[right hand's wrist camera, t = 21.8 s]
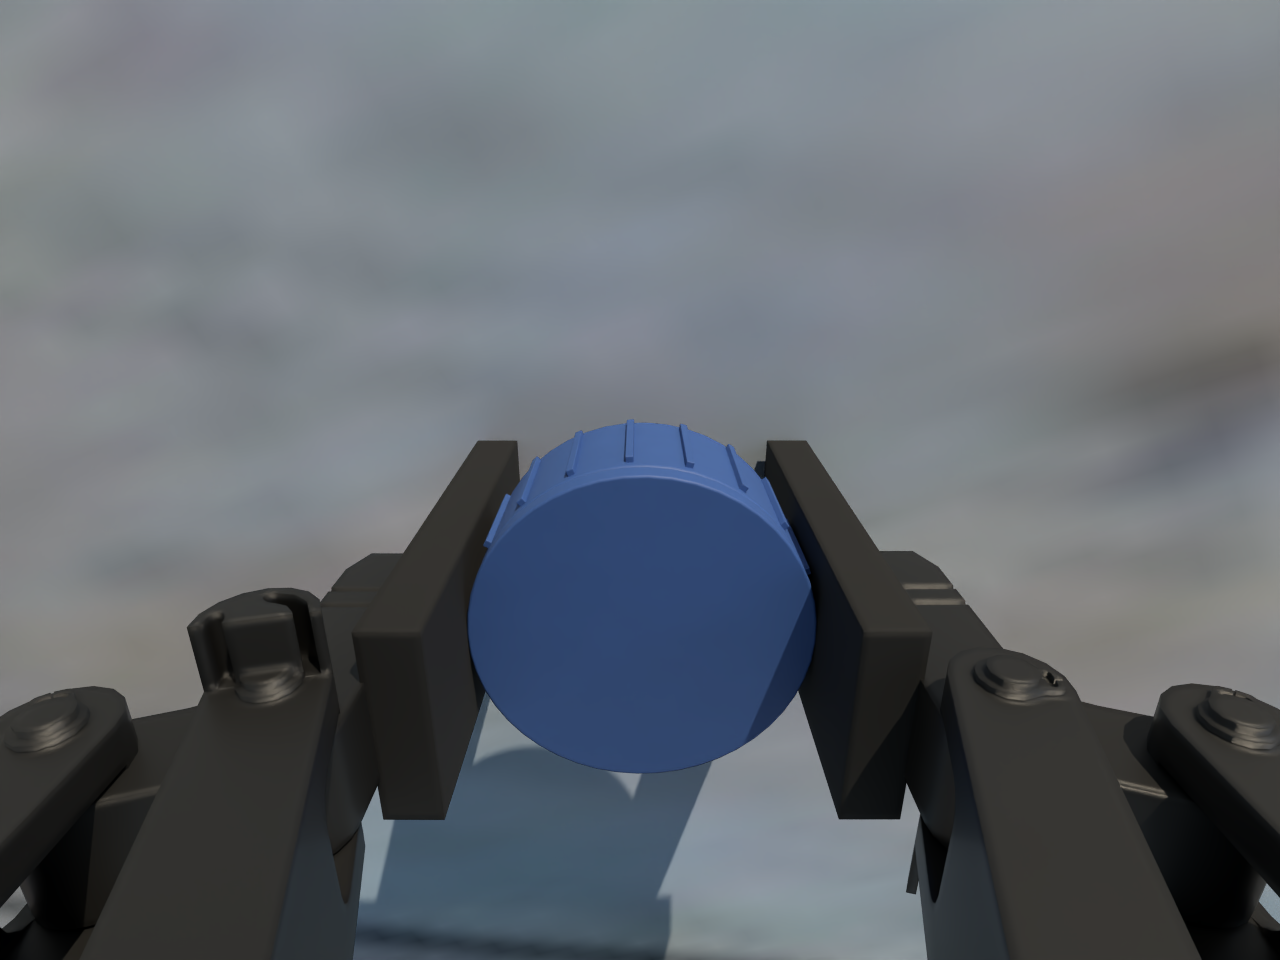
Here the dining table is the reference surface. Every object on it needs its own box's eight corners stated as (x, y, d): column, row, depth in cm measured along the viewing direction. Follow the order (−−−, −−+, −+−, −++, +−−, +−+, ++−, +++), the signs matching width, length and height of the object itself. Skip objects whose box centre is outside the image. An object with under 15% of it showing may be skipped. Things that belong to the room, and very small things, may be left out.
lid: (810, 652, 13) (845, 744, 11) (540, 705, 13) (521, 804, 11) (763, 385, 11) (792, 432, 9) (451, 457, 12) (410, 518, 9)
